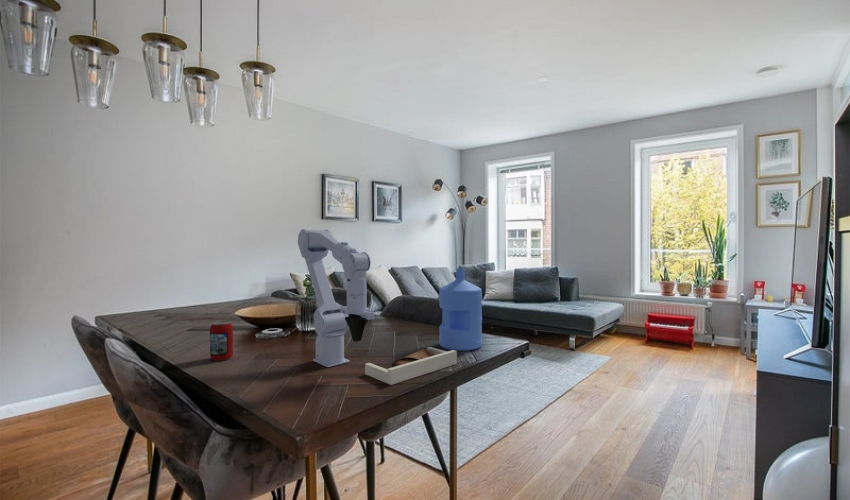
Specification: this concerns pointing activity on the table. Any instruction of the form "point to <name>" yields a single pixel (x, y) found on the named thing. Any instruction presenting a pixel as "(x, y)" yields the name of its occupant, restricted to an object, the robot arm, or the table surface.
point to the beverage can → (221, 340)
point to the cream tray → (413, 367)
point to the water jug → (460, 314)
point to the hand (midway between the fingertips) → (357, 340)
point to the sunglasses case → (413, 357)
